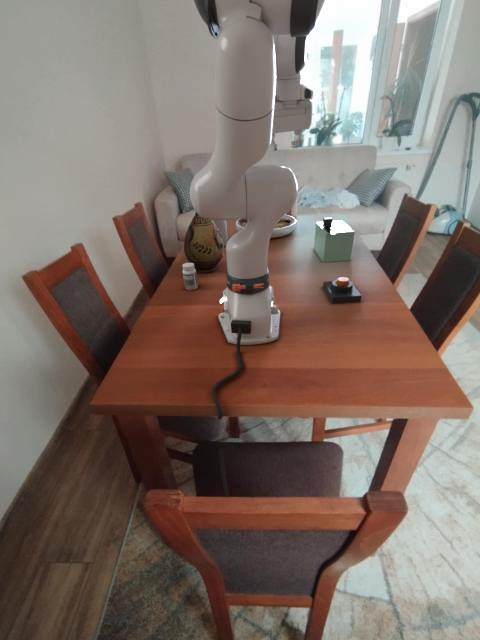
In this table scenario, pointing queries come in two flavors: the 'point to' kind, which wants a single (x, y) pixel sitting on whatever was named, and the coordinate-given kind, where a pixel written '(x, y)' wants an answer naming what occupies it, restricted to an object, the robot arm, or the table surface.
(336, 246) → the pale green box
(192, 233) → the ceramic jug
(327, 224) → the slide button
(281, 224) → the bowl
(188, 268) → the pill bottle
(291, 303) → the table surface
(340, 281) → the button
